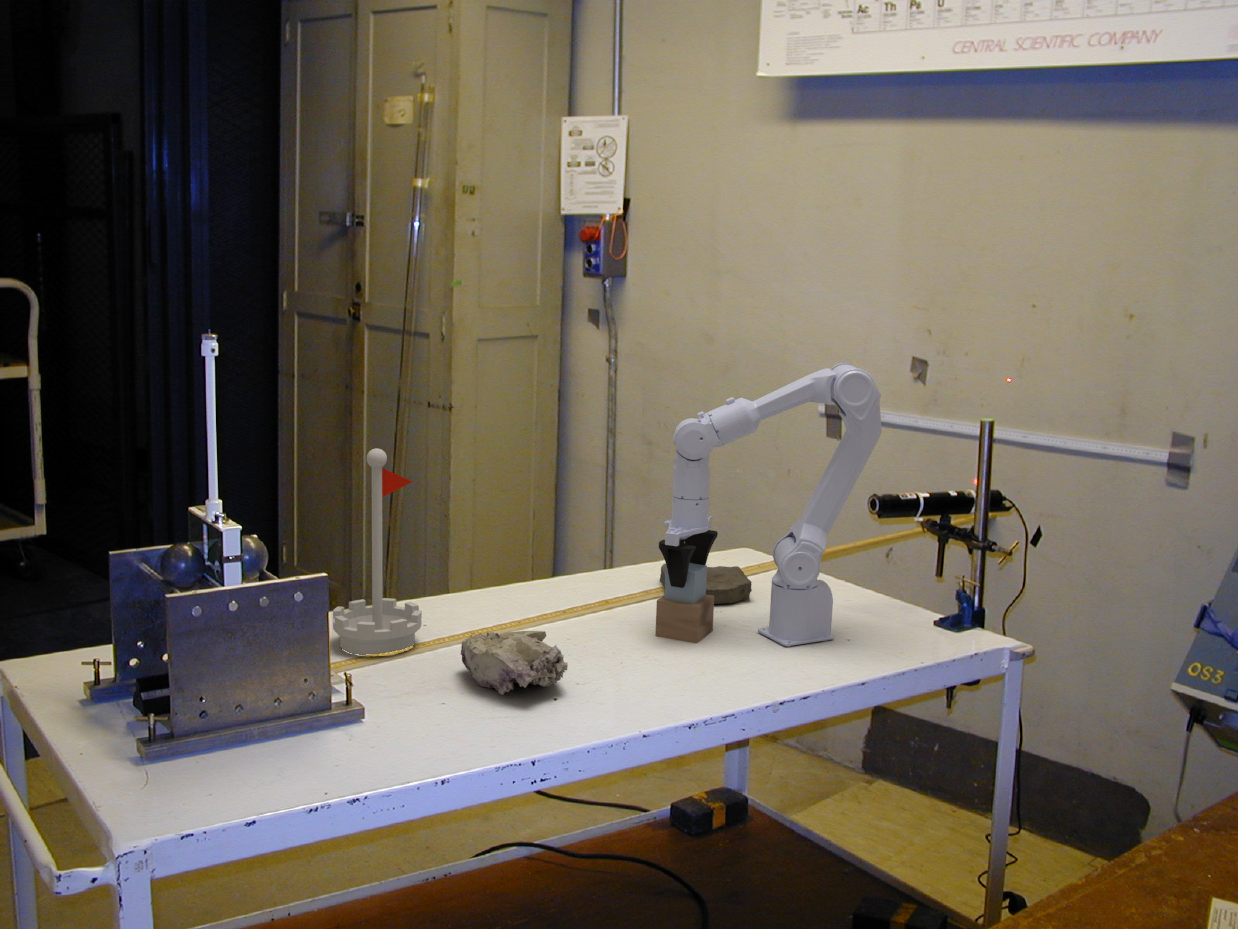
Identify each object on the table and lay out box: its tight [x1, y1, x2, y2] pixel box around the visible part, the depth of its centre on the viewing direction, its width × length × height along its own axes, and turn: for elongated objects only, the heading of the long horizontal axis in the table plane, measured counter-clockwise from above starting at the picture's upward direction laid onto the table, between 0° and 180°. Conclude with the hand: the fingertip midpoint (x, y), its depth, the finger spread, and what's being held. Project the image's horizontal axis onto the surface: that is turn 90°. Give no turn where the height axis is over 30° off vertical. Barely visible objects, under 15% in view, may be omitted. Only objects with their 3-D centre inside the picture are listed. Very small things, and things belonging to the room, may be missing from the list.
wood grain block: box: [655, 595, 715, 644], centre depth 189 cm, size 7×7×6 cm
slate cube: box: [663, 563, 708, 604], centre depth 188 cm, size 5×5×5 cm
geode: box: [460, 630, 569, 696], centre depth 165 cm, size 17×9×15 cm
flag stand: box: [332, 447, 423, 655], centre depth 177 cm, size 13×13×30 cm
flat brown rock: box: [659, 563, 753, 605], centre depth 211 cm, size 17×15×4 cm
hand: (686, 580), depth 188 cm, fingers open, 7 cm apart
